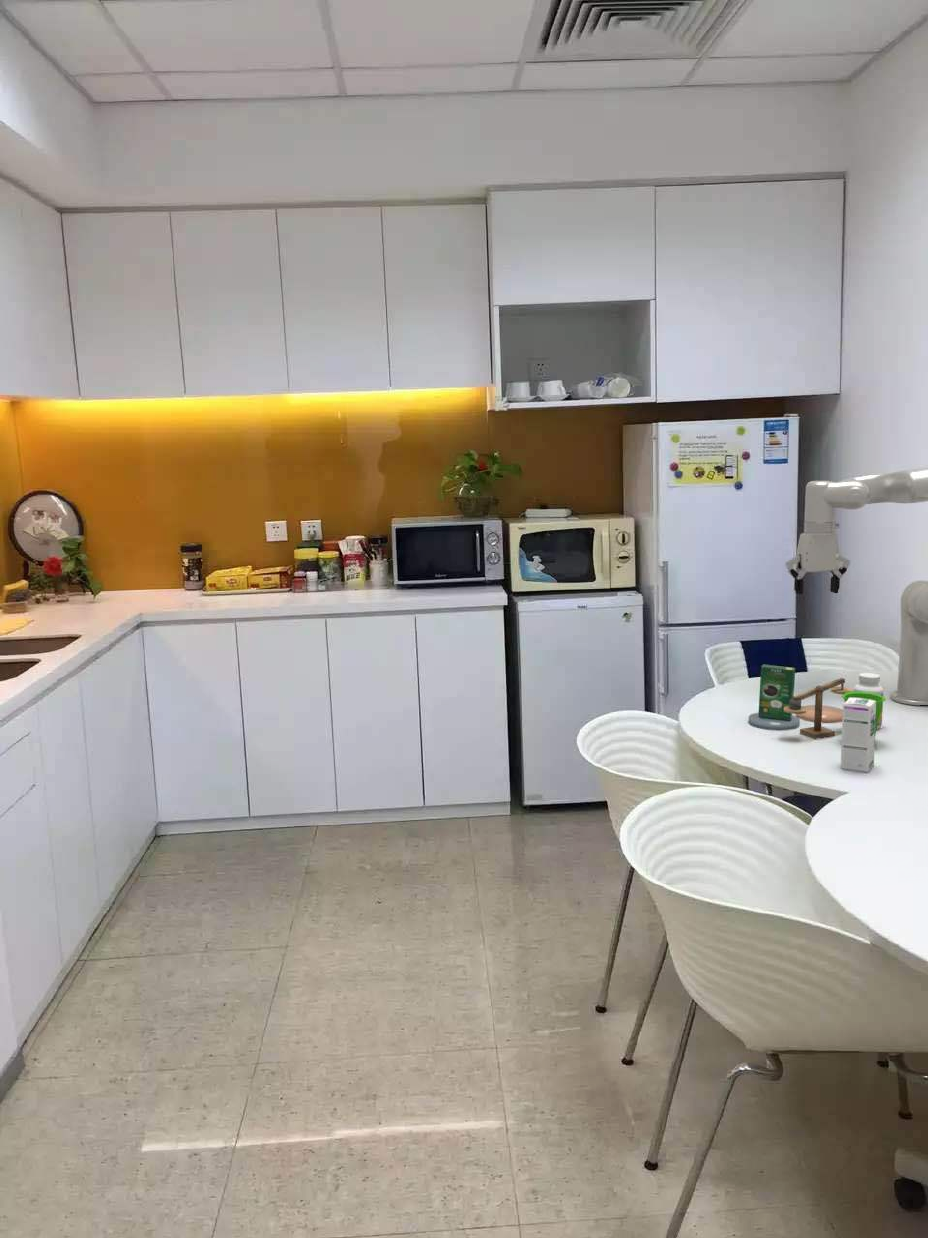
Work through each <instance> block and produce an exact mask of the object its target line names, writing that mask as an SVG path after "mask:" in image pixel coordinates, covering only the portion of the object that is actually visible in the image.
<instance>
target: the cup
mask: <svg viewBox="0 0 928 1238" xmlns="http://www.w3.org/2000/svg"><path fill="white" fill-rule="evenodd" d="M841 697H842V699H844V700H843V703H844V702H845V701H847V700H848V699H849V697H850V698H865V699H871V700H875V701H876V719H875V736H876V734H877V730H878V729H877V726H878V722H879V717H880V713H881V709H882V704H883V705H884V702H885V701H886V698H885V697H884V695H883V696H881V695H878V694H874V693H868V692H849V693H845V694H842V696H841Z"/></svg>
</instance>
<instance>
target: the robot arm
mask: <svg viewBox="0 0 928 1238" xmlns="http://www.w3.org/2000/svg"><path fill="white" fill-rule="evenodd" d="M804 500H805V501H804V522H803V523H804V527H803V528H804V529H803V533H802V532H801V533H800V535H799V539H798V545H797V549H796V556H794V557H793V558H792V559H789V560H788V561H786V562H785V567H786V569H787V571H788V573H789V574H790V575H791V576H792V578H793V579H794V586H793V589H794V591H795V594H797V595H800V596H801V595H803V594H804V580H803V577H804V576H805V575H806V573H823V572H829V573H831V575H832V576H831V577H830V584H829V586H830V589H829V592H831V593H832V594H833V593H834V594H838V593H839V590H840V582H841V578H842V577H843V575H844V574H845V573H846V572H847V569H848V568H849V566H850V565H851V561H850V560H849V559H847V558H846V557H843V556H841V555H840V549H839V540H838V539H839V538H838V534H837V533H835V532H836V529H839V528H840V523H837V522H836V509H843V510H850V511H851V510H852V511H853V510H858V509H861V508H863V507H864V506H866V505H872V504H881V503H882V504H883V503H893V504H894V503H895V504H916V503H923V502H924V503H925V502H928V467H923V468H922V467H921V468H915V469H905V470H900V471H893V472H890V473H882V474H871V475H865V476H856V477H849V478H844V479H842V480H840V481H836V482H834V481H833V480H832V481H831V480H811V481H808V483H807V484H806V485H805V498H804ZM840 563H841V566H840V567H839V565H840ZM794 566H795V568H796V570H795V568H794ZM899 643H900V644H899V655H898V656H899V659H898V672H897V673H898V675H897V676H898V678H897V690H895V691H892V692H891V693H890V699H891V700H893V701H895V702H897V703H900V704H904V705H905V704H906V705H912V706H920V705H928V580H916V581H912V582H911V583H909V584H908V585H907V586H906V587H905V588H904V590H903V591H902V594H901V598H900V642H899Z"/></svg>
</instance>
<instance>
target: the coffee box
mask: <svg viewBox="0 0 928 1238" xmlns="http://www.w3.org/2000/svg"><path fill="white" fill-rule="evenodd" d="M759 679H760V682H759V697H758V699H759V700H758V713H759V714H758V717H762V718H770V719H779V720H786V721H791V719H792V715H793V714H791V713H787V712H785V711H784V707H785V706H789V701H790V699H793V697H794V696H795V695H794V694H795V693H794V692H795V679H796V667H790V666H789V667H788V666H781V665H780V666H779V665H771V664H762V665H761V667H760V677H759Z"/></svg>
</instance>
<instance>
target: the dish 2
mask: <svg viewBox="0 0 928 1238" xmlns="http://www.w3.org/2000/svg"><path fill="white" fill-rule="evenodd" d="M801 707H804V708H806V713H803V714H795V716H796V717H798V718H799V719H801V720H804V721H809V722H812V723H813V722H814V717H815V704H809V705H801ZM842 717H843V708H839V707H835V706H831V705H830V706H829V705H823V704H822V723H823V724H834V723H835V724H836V723H842ZM822 723H821V724H822Z"/></svg>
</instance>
